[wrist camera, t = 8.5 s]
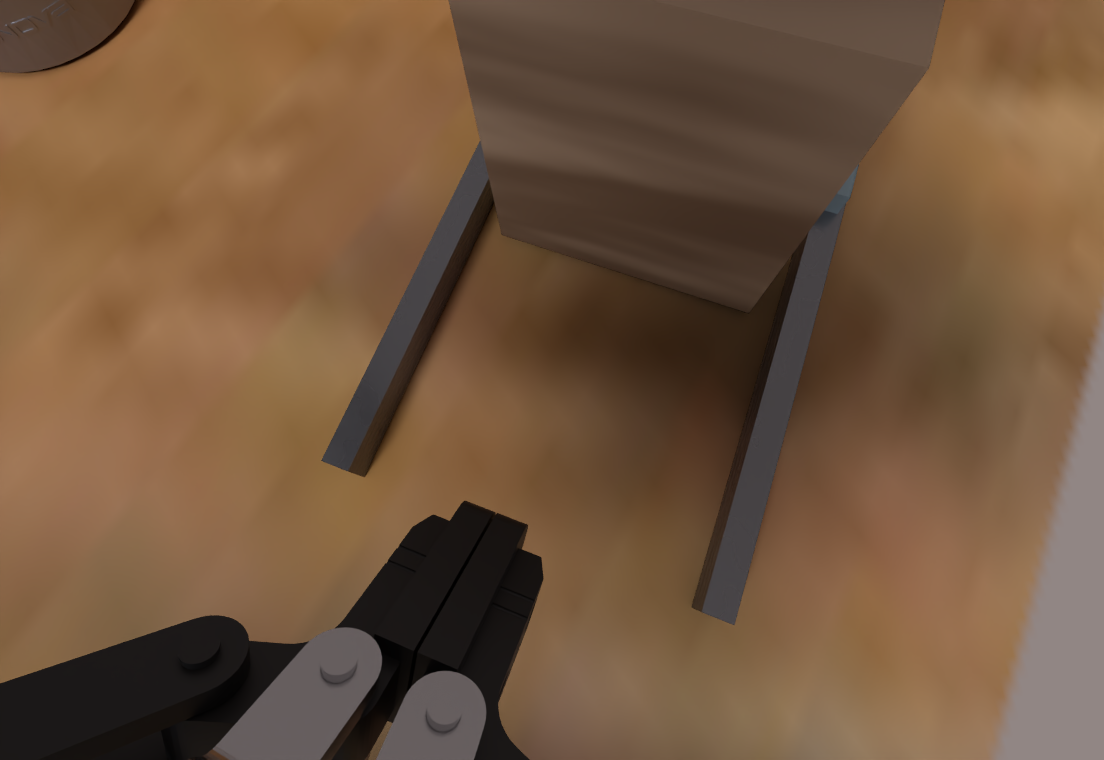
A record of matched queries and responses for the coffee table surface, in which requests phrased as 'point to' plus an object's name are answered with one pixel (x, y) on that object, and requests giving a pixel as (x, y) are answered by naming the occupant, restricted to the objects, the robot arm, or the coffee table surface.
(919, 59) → the board
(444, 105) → the coffee table surface
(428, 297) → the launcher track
